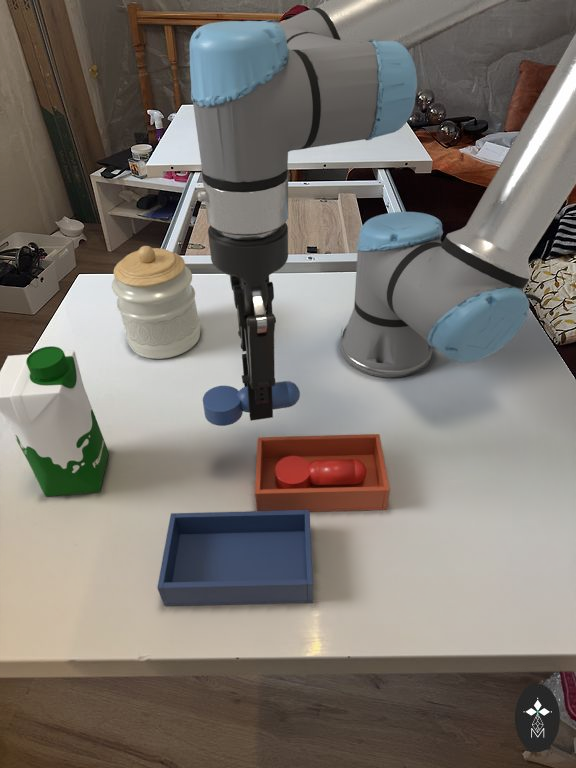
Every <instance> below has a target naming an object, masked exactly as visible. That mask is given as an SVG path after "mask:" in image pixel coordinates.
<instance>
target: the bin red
mask: <svg viewBox="0 0 576 768" xmlns="http://www.w3.org/2000/svg"><path fill="white" fill-rule="evenodd" d="M381 441H382V440H381V436H380V434H379V433H367V434H364V433H363V434H330V435H329V434H327V435H326V434H325V435H292V436H291V435H290V436H287V435H285V436H257V442H256V462H255V463H256V464H255V487H254V496H255V505H256V511H286V510H309V511H310V512H312V513H313V512H347V511H349V512H351V511H387V510H388V505H389V497H390V491H391V488H390V484H389V478H388V473H387V468H386V462H385V457H384V452H383V446H382V442H381ZM288 456H299V457H302V458H304V459H306V460H307V461H308V462H309V464H310V463H311V462H312V461H315V460H340V459H356V460H359V461H361V462H362V463H363V464H364V465H365V467H366V477H365V479H364V480H363V481H362V482H361V483H359V484H349V485H314V484H312V483H311V484H310V487H309V488H303V489H278V487H277V485H276V476H275V467H276V465H277V463H278V462H279V461H280V460H281V459H283V458H285V457H288Z"/></svg>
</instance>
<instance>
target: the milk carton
mask: <svg viewBox="0 0 576 768" xmlns="http://www.w3.org/2000/svg"><path fill="white" fill-rule="evenodd" d="M78 362H79V361H78V358H77V355H76V351H75V350H63V349H62V348H60V347H58V346H54V345H53V346H51V345H50V346H43V347H41V348H38V349H36V350H34V351H32V352H29V353H28V354H27V353H26V354H14V355H7V357H6V359H5V361H4V363H3V366H2V367H1V369H0V414H1V415H2V417H3V419H4V420H5V422H6V424H7V426H8V427H9V430H10V431H11V433H12V435H13V436H14V438H15V440H16V442H17V444H18V446H19V447H20V449H21V451H22V453H23V455H24V457H25V459H26V460H27V462H28V463H29V466H30V469H31V471H32V473H33V475H34V477H35V478H36V480H37V482H38V485H39V487H40V489H41V491H42V493H43V495H44V497H46V498H47V497H56V496H67V495H68V496H69V495H79V494H92V493H100V492H101V489H102V485H103V481H104V476H105V471H106V467H107V463H108V457H109V454H110V451H109V448H108V447H107V446H108V445H107V444H106V440H105V438H104V436H103V433H102V431H101V428H100V425H99V422H98V420H97V418H96V415H95V412H94V409H93V407H92V404H91V401H90V399H89V397H88V393H87V390H86V388H85V386H84V382H83V378H82V376H81V375H82V374H81V370H80V367H79V363H78Z"/></svg>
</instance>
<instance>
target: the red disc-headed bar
mask: <svg viewBox="0 0 576 768" xmlns="http://www.w3.org/2000/svg"><path fill="white" fill-rule="evenodd" d="M275 476H276V485H277V487H278V489H303V488H309V487H310V484H311V483H312V484H314V485H349V484H359V483H361V482H362V481H363V480H364V479H365V477H366V467H365V465H364V464H363V463H362V462H361V461H359V460H356V459H340V460H315V461H312V462H311V463H310V464H309V462H308V461H307V460H306V459H304V458H302V457H299V456H288V457H285V458H283V459H281V460H280V461H279V462H278V463H277V465H276V467H275Z"/></svg>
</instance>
